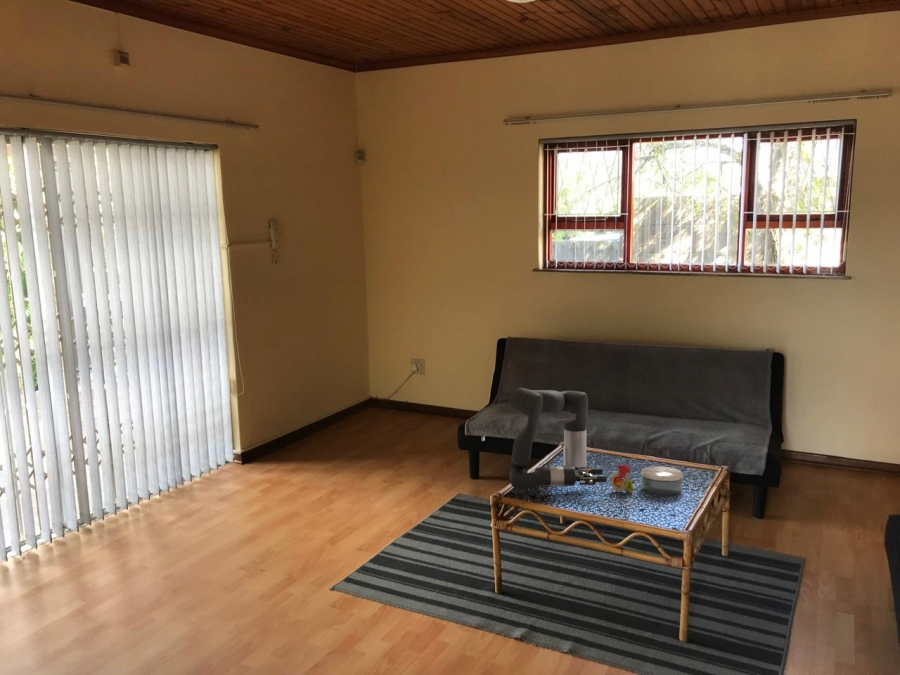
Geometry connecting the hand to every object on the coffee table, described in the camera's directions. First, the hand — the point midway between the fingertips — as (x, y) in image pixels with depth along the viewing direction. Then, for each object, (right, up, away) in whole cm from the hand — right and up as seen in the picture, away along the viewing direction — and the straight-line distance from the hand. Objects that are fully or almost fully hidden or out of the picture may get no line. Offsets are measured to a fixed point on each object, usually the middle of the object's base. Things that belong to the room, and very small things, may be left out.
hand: (604, 475), depth 275 cm
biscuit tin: (+22, -6, +1) cm, 23 cm away
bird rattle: (+7, -7, +1) cm, 10 cm away
